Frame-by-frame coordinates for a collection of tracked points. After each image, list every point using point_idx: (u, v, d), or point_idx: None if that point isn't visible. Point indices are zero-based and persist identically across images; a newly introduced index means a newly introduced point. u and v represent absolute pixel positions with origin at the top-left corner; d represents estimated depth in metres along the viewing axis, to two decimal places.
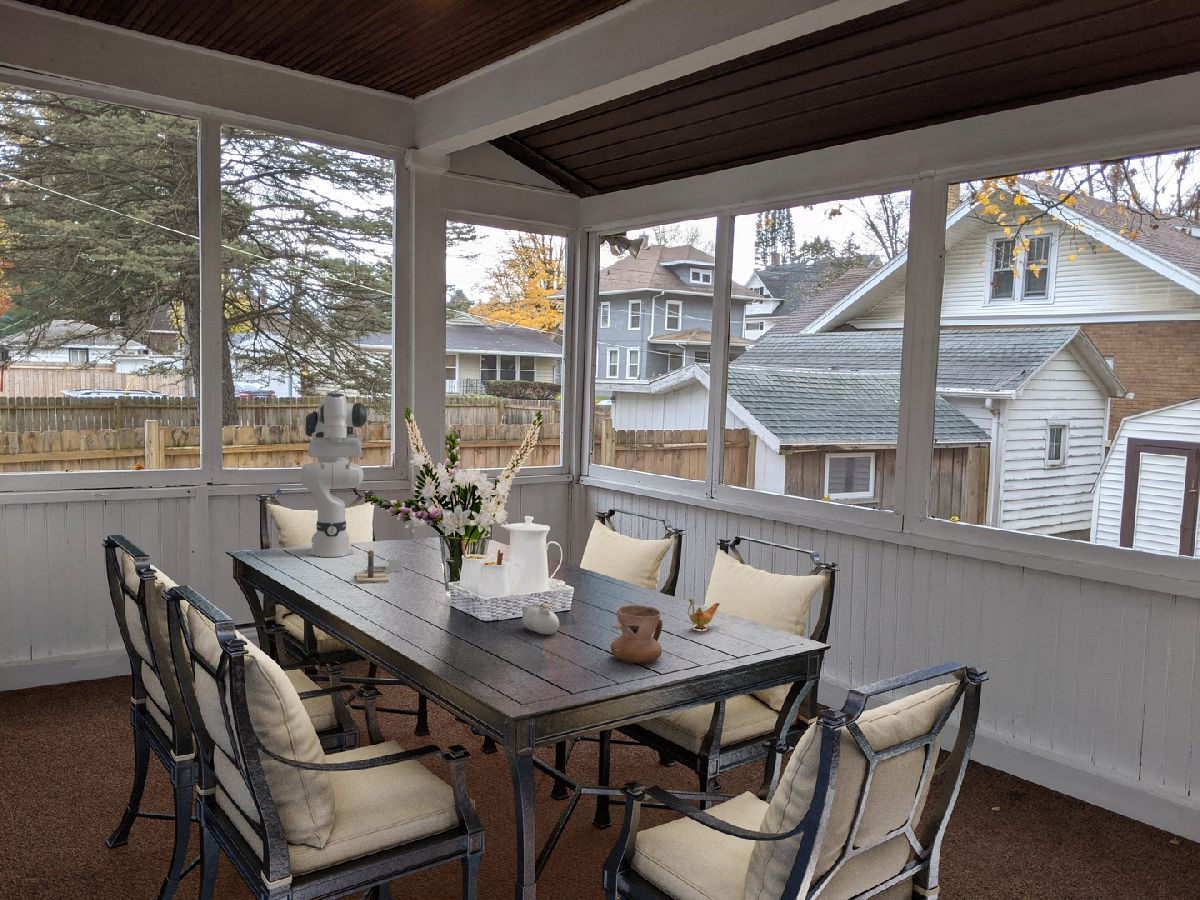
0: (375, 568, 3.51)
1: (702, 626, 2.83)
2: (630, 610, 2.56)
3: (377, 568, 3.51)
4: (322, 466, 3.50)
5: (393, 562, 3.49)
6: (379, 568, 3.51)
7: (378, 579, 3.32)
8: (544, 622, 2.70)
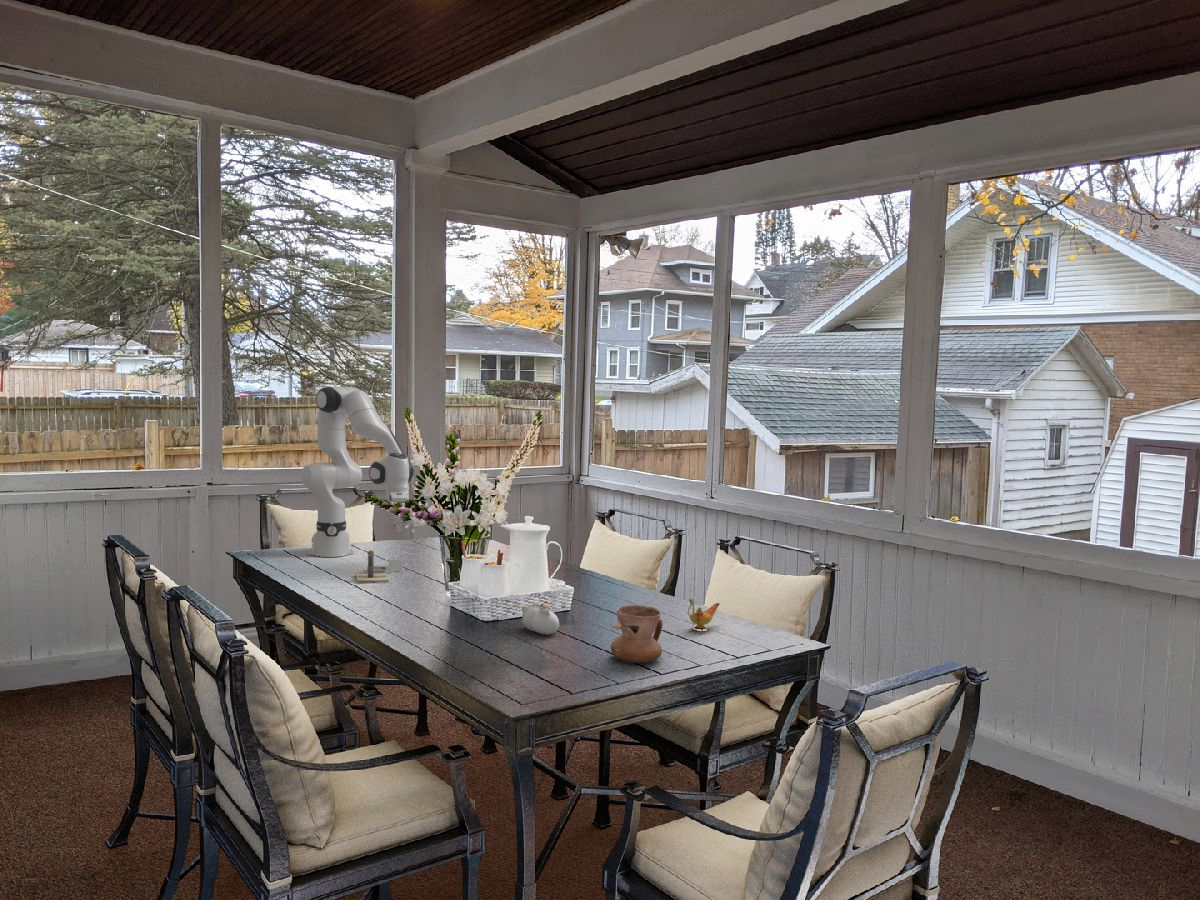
0: (375, 568, 3.51)
1: (702, 626, 2.83)
2: (630, 610, 2.56)
3: (377, 568, 3.51)
4: None
5: (393, 562, 3.49)
6: (379, 568, 3.51)
7: (378, 579, 3.32)
8: (544, 622, 2.70)
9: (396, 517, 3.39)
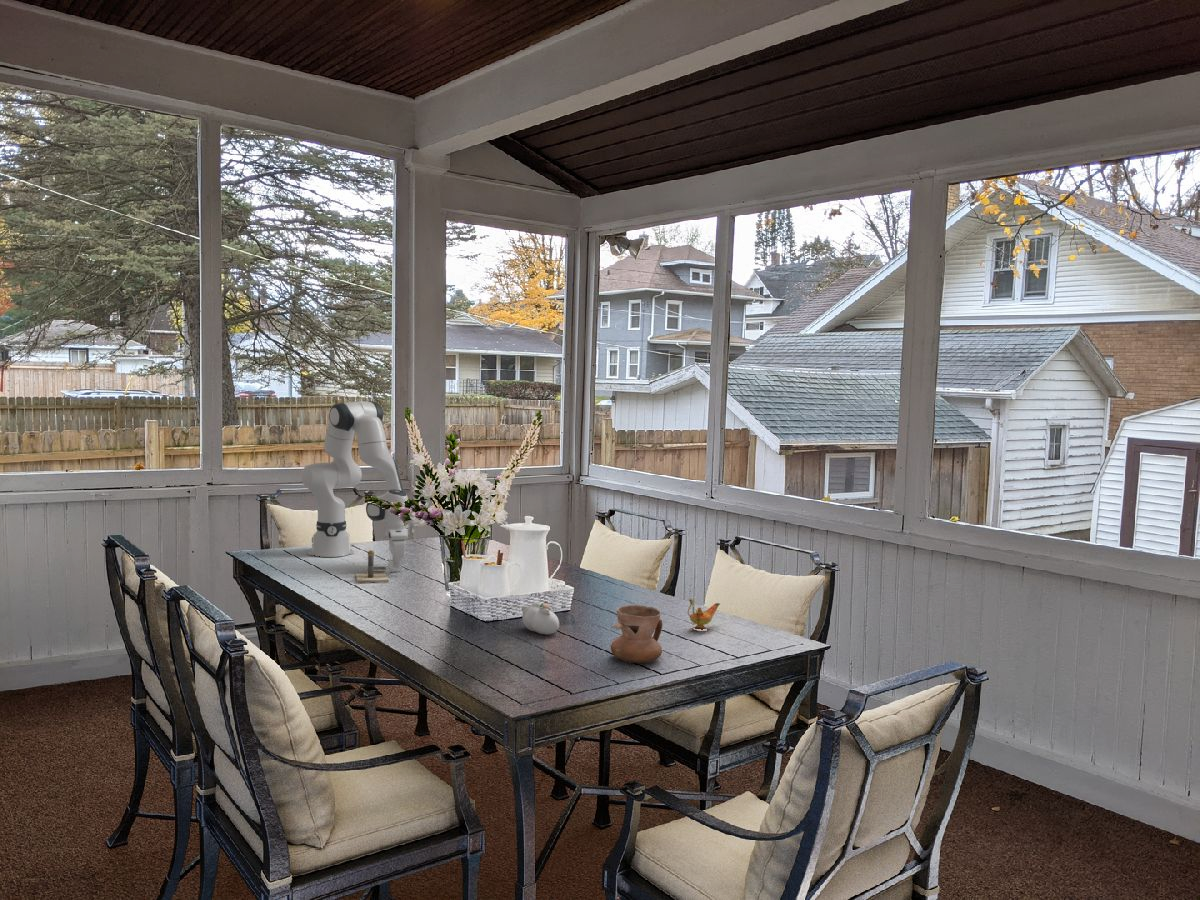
0: (375, 568, 3.51)
1: (702, 626, 2.83)
2: (630, 610, 2.56)
3: (377, 568, 3.51)
4: None
5: (393, 562, 3.49)
6: (379, 568, 3.51)
7: (378, 579, 3.32)
8: (544, 622, 2.70)
9: (395, 555, 3.40)
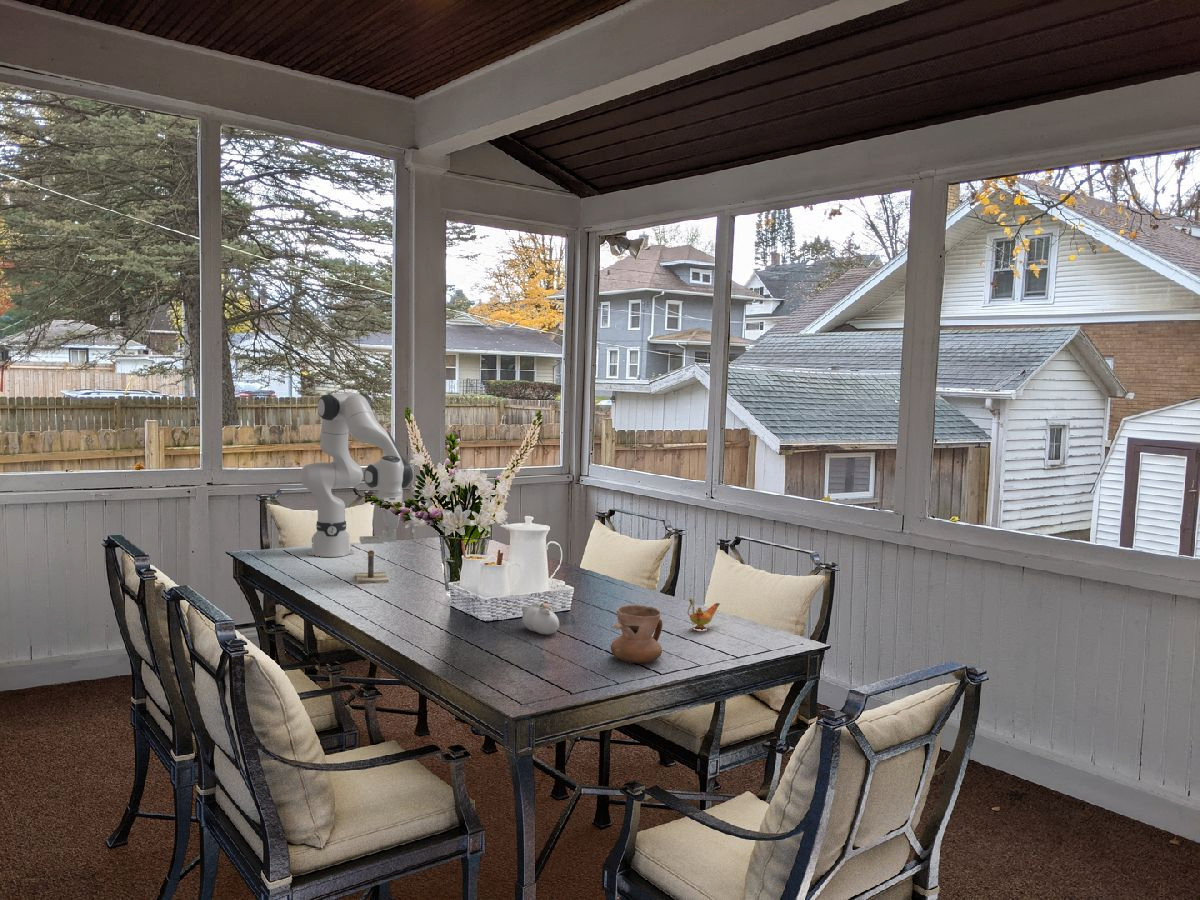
0: (368, 538, 3.36)
1: (702, 626, 2.83)
2: (630, 610, 2.56)
3: (370, 538, 3.36)
4: None
5: (387, 531, 3.34)
6: (372, 538, 3.36)
7: (378, 579, 3.32)
8: (544, 622, 2.70)
9: (389, 523, 3.25)
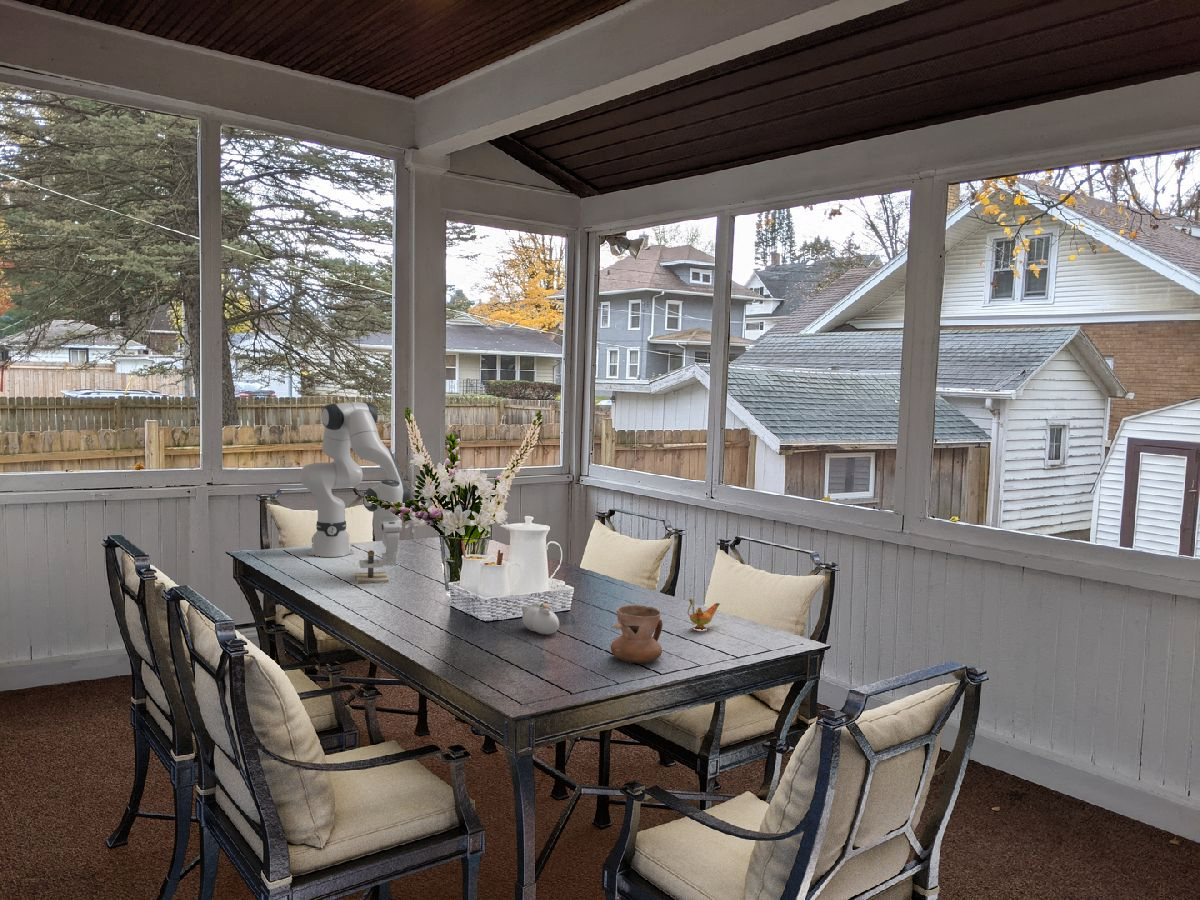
0: None
1: (702, 626, 2.83)
2: (630, 610, 2.56)
3: None
4: (392, 558, 3.35)
5: (386, 555, 3.35)
6: None
7: (378, 579, 3.32)
8: (544, 622, 2.70)
9: (388, 547, 3.26)
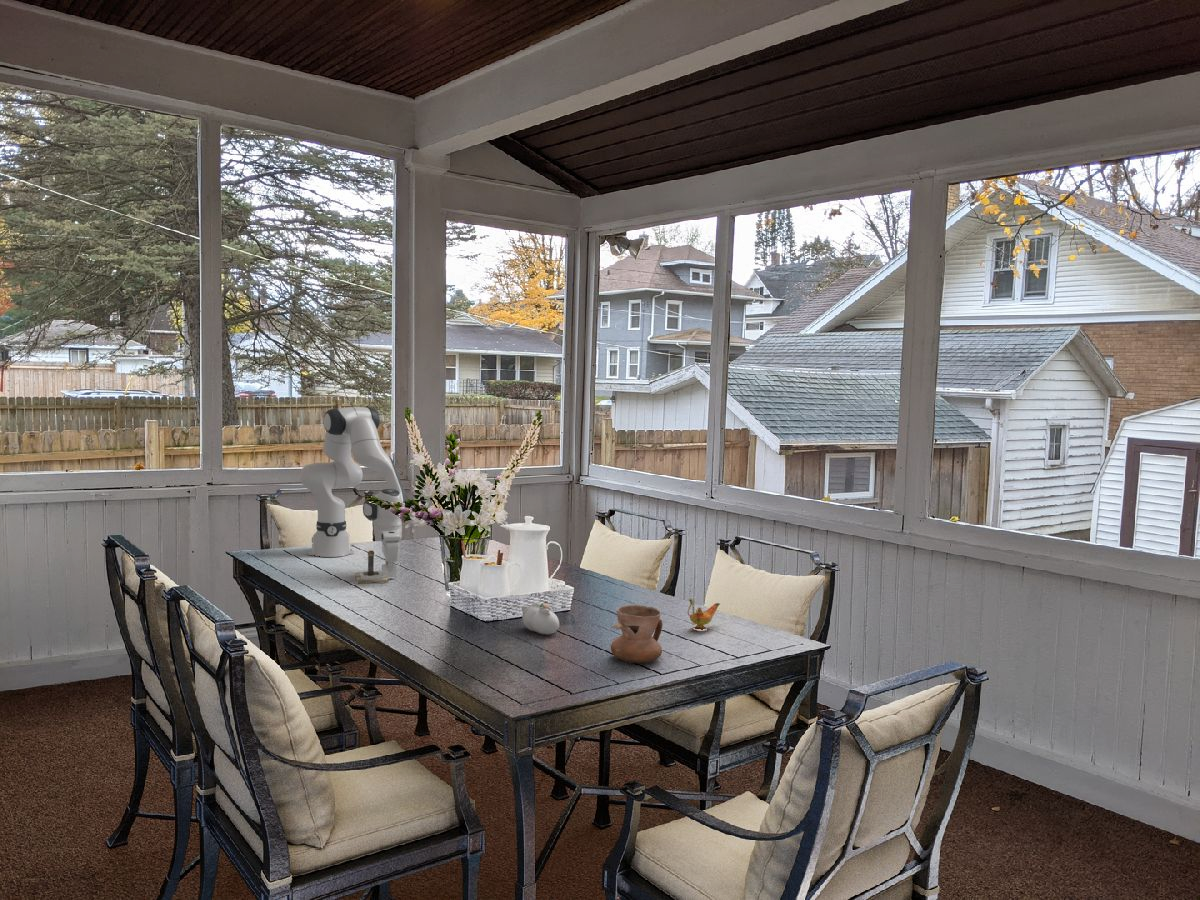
0: None
1: (702, 626, 2.83)
2: (630, 610, 2.56)
3: None
4: None
5: (386, 567, 3.35)
6: None
7: (378, 579, 3.32)
8: (544, 622, 2.70)
9: (388, 557, 3.26)
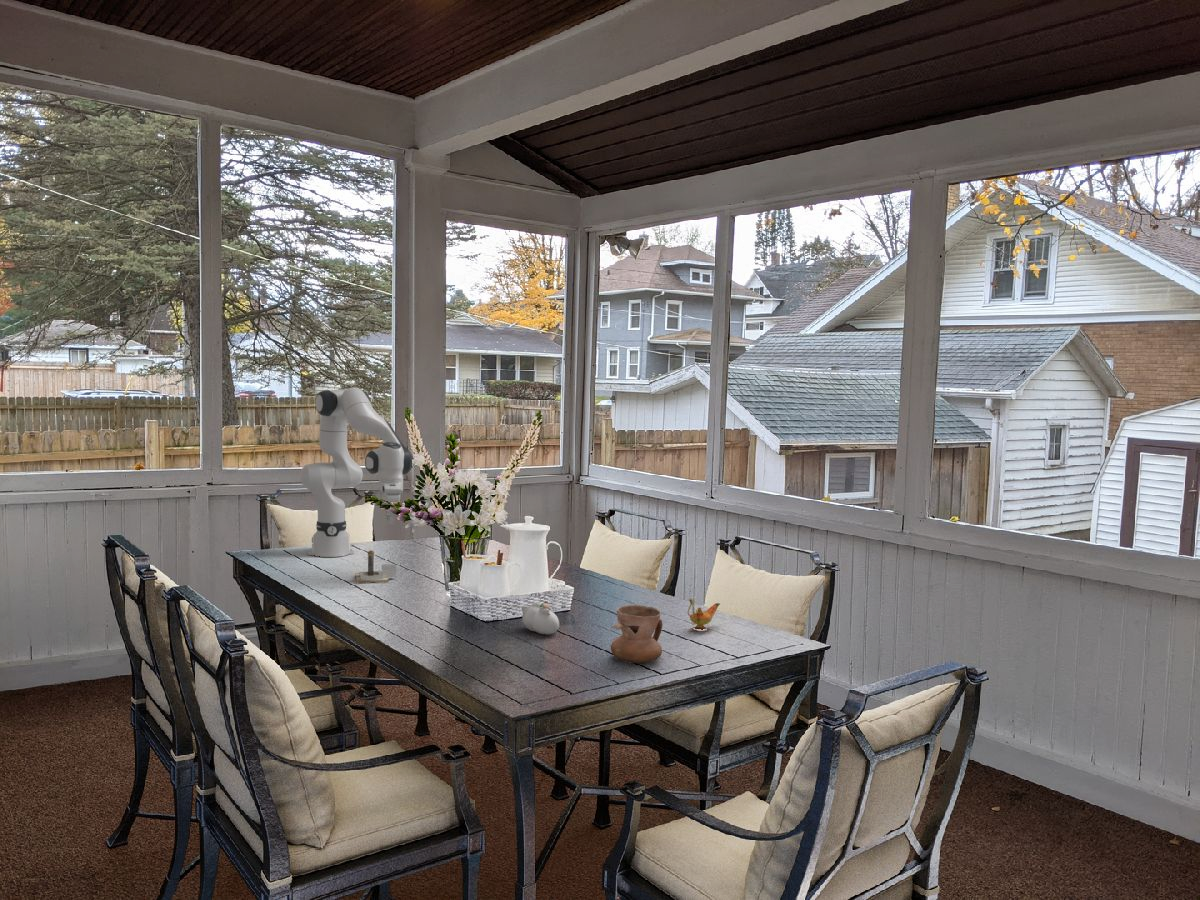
0: None
1: (702, 626, 2.83)
2: (630, 610, 2.56)
3: None
4: None
5: (386, 567, 3.35)
6: None
7: (378, 579, 3.32)
8: (544, 622, 2.70)
9: None
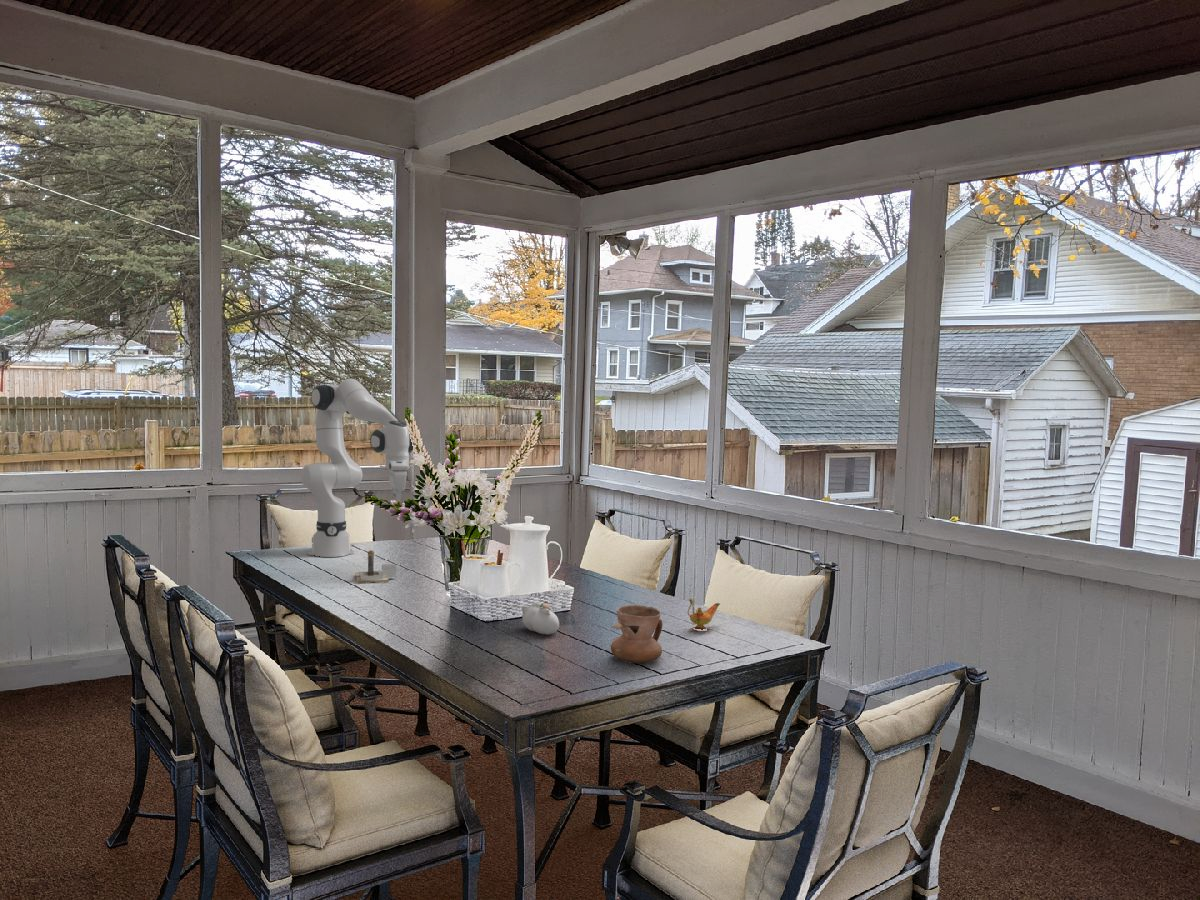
0: None
1: (702, 626, 2.83)
2: (630, 610, 2.56)
3: None
4: None
5: (386, 567, 3.35)
6: None
7: (378, 579, 3.32)
8: (544, 622, 2.70)
9: (396, 485, 3.33)
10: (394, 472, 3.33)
